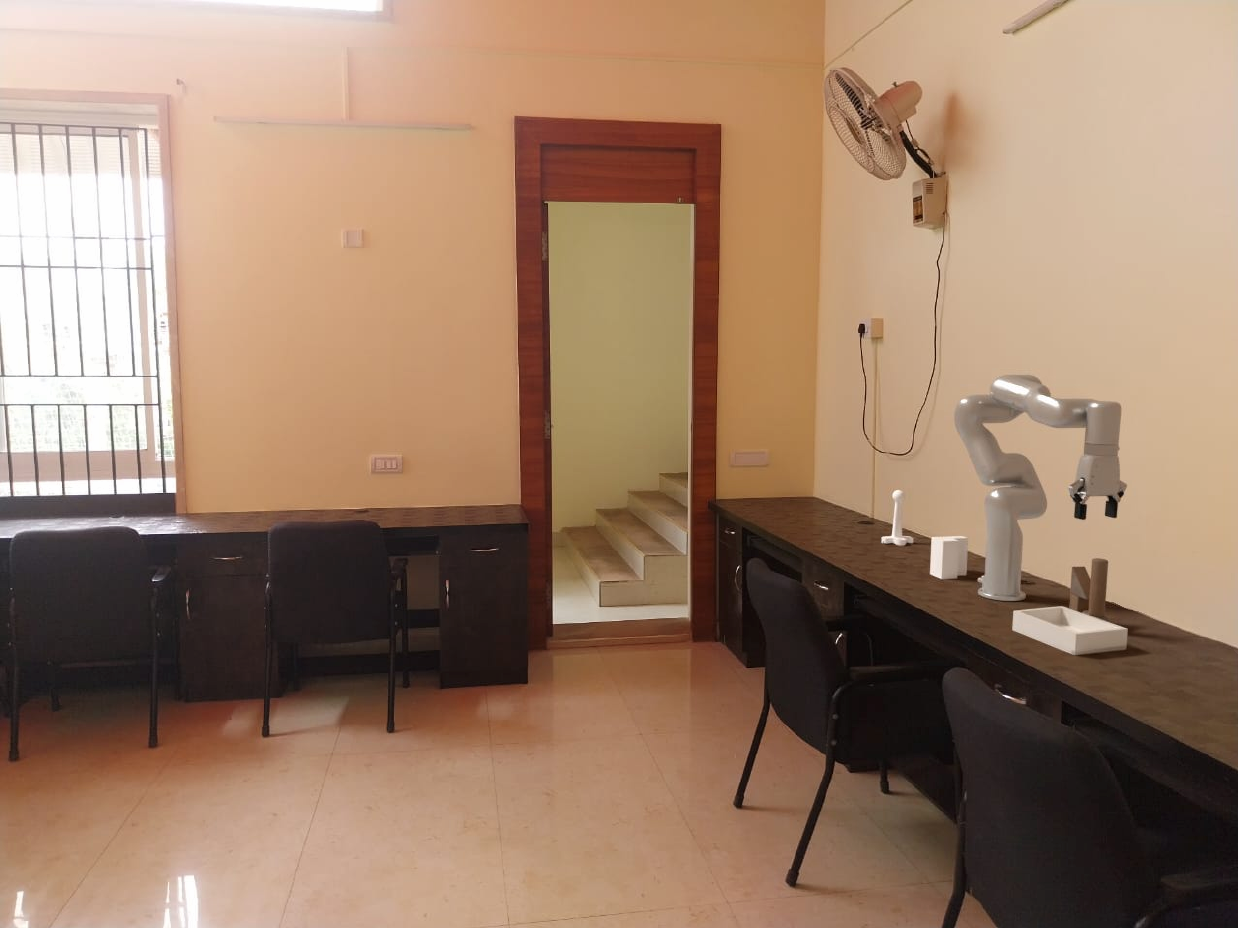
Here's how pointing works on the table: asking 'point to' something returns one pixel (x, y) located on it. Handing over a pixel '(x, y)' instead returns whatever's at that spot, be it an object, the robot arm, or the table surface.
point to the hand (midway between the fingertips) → (1095, 518)
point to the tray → (1070, 630)
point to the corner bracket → (948, 556)
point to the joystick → (897, 522)
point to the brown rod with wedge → (1090, 589)
